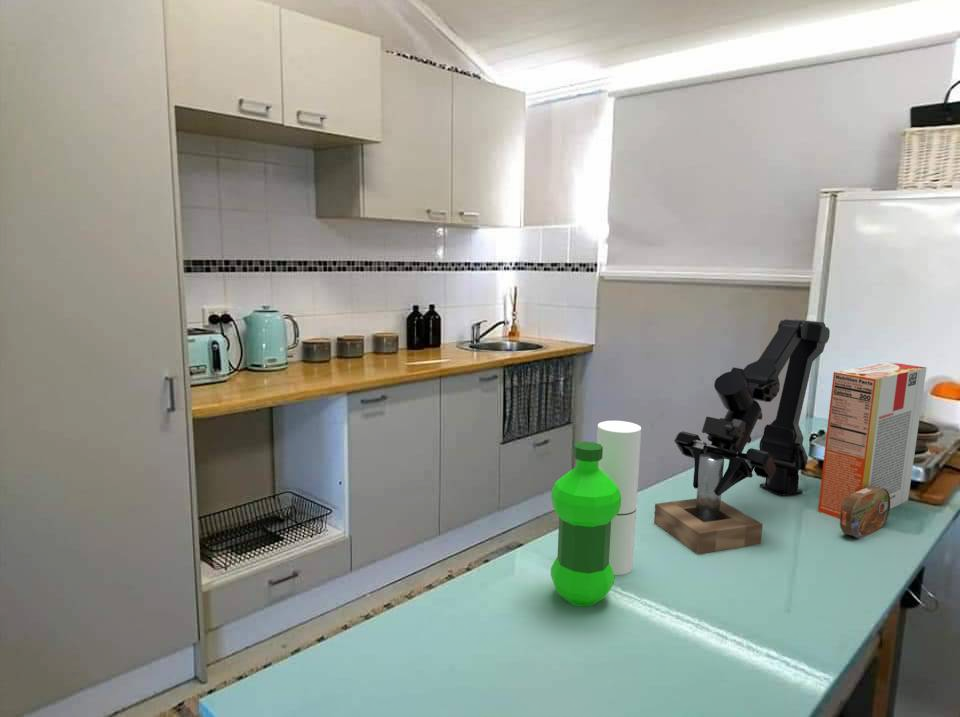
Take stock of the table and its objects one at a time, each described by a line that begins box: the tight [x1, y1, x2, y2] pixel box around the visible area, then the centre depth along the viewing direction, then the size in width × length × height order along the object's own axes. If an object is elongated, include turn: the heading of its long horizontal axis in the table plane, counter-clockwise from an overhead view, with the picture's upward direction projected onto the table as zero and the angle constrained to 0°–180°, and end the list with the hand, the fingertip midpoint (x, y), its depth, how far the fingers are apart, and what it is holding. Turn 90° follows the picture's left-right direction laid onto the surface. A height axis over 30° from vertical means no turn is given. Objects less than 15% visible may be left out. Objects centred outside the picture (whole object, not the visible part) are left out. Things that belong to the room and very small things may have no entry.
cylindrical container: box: [596, 420, 642, 576], centre depth 112 cm, size 7×7×25 cm
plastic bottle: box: [550, 441, 621, 608], centre depth 101 cm, size 10×10×25 cm
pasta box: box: [817, 361, 928, 520], centre depth 139 cm, size 23×8×30 cm, turn 125°
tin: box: [839, 486, 891, 539], centre depth 129 cm, size 15×3×8 cm, turn 124°
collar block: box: [653, 498, 764, 555], centre depth 127 cm, size 14×14×4 cm
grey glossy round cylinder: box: [695, 453, 725, 522], centre depth 126 cm, size 4×4×13 cm
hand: (705, 490), depth 125 cm, fingers closed on grey glossy round cylinder, 4 cm apart
